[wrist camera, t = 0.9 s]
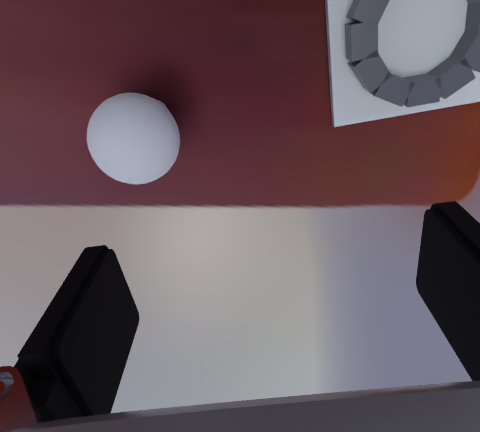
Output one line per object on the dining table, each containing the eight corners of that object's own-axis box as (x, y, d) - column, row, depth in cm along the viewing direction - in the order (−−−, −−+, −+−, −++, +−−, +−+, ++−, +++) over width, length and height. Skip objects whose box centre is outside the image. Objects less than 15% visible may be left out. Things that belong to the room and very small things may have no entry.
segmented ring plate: (321, -58, 27) (329, -65, 25) (518, -103, 26) (548, -114, 24) (332, 123, 34) (339, 133, 32) (488, 96, 33) (508, 104, 30)
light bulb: (193, 79, 32) (173, 111, 23) (189, 150, 36) (171, 204, 26) (117, 70, 32) (65, 98, 23) (120, 142, 35) (76, 194, 26)
